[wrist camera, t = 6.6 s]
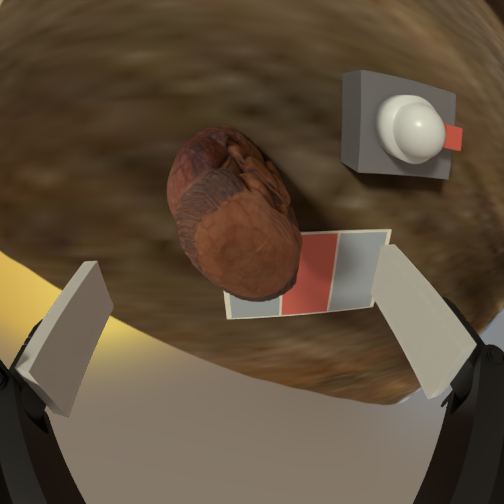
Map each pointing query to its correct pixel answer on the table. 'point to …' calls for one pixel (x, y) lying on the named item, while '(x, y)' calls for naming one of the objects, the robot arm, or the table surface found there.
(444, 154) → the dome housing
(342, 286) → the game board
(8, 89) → the table surface
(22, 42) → the table surface
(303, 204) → the table surface
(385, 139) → the dome
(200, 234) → the wooden figurine
